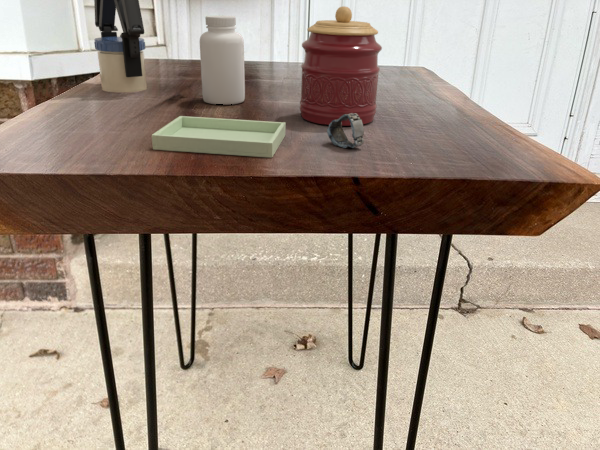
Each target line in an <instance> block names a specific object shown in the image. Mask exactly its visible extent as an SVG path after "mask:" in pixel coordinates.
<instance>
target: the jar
mask: <svg viewBox="0 0 600 450" xmlns="http://www.w3.org/2000/svg"><path fill="white" fill-rule="evenodd" d="M140 56H141V67H142V76H139V77H126V73H125V63H124V54H123V52H107V51H99V50H97V61H98V67H99V76H100V84H101V85H100V86H101V90H102V91H104V92H106V93H107V92H108V93H118V94H120V93H121V94H122V93H123V94H126V93H138V92H143V91H146V90H148V82H147V72H146V71H147V70H146V61H145V60H146V59H145V58H146V57H145V51H144V50H141V51H140Z"/></svg>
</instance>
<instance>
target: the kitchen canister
mask: <svg viewBox="0 0 600 450" xmlns="http://www.w3.org/2000/svg"><path fill="white" fill-rule="evenodd" d="M334 15H335V16H334V19H333V20H332V19H329V20H328V19H327V20H326V19H325V20H324V19H323V20H317V21H315V23H314V24H313V25H310V26H309V27H308V28H306V29H307V32H309V33H310V34H309V36H308V38H307V39H306V40H304V41H303V42H302V43H301V47H302V49H303V50H304V58H303V62H302V63H301V64H300V68H301V89H300V90H301V91H300V100H299V110H300V117H301V118H302V119H303V120H305V121H307V122H310V123H314V124H319V125H325V126H329V124H330V123H331V122H332V121H333V120H336V119H339V118H340V117H341V116H343V115H344V114H351V113H353V114H354V113H357V114H358V116H359V117H360V119H361V120H362V123H363V125H367V124H370V123H372V122H374V120H375V116H376V113H377V107H378V106H377V94H378V85H379V84H378V83H379V73H380V71H381V68H380V66H379V64H378V63H379V62H378V61H379V53H380V52H381V51H382V49H383V46H382V45H381V44H379V43H378V42H377V40H376V36H375V35H378V34H379V30H377V29H376V28H375V27H373V26H372V25H371V23H370V22H367V21H357V20H356V21H355V20H352V18H353V13H352V10H351V8H350V7H348V6H346V5H345V6H344V5H343V6H339V7H338V8H337V9H336V11H335V14H334ZM341 122H342V127H351V123H350V121H349V119H347V121H345V120H343V121H341Z"/></svg>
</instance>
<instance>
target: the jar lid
mask: <svg viewBox="0 0 600 450" xmlns="http://www.w3.org/2000/svg"><path fill="white" fill-rule="evenodd" d="M93 43H94V48H95V49H94V50H96V51H107V52H123V44H122V38H121V37H120V36H117V37H101V36H100V37H95V38H94V41H93ZM139 45H140V51H141V50H142V51H144V50H145V49H146V41H145V39H144V38H142V37H139Z"/></svg>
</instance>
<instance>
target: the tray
mask: <svg viewBox="0 0 600 450" xmlns="http://www.w3.org/2000/svg"><path fill="white" fill-rule="evenodd" d="M286 123H287V122H284V121H283V122H281V121H270V120H269V121H267V120H265V121H264V120H252V119H237V118H236V119H235V118H219V117H218V118H217V117H202V116H188V115H187V116H186V115H179V116H178V117H176V118H174V119H173V120H172V121H170V122H169V123H167V124H165V125H164V126H163V127H161V128H160V129H158V130H157V131H155V132H154V133H152V134H151V145H152V150H153V151H155V150H156V151H169V152H181V153H182V152H183V153H197V154H198V153H199V154H214V155H227V156H238V157H239V156H240V157H254V158H255V157H256V158H271V159H272V158H274V156H275V153H276V152H277V151H278V149H279V147H280V146H281V144H282V143H283V140H284V138H285V137H286V130H287V129H286V127H287V125H286Z"/></svg>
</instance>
